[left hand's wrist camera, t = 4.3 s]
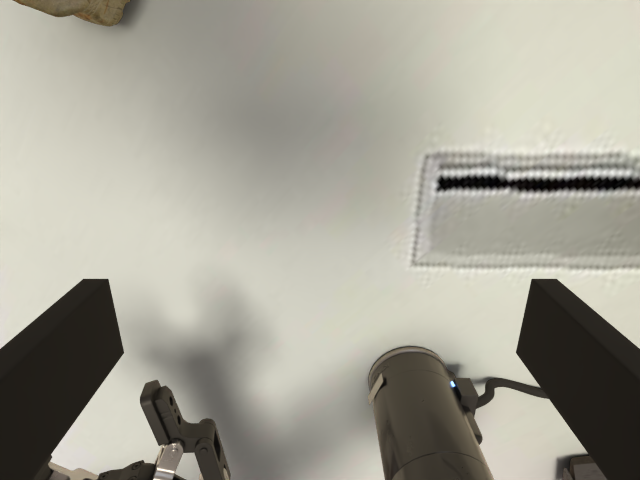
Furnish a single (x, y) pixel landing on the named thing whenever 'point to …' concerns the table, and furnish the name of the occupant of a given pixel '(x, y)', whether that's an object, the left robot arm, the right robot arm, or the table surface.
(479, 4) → the table surface
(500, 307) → the table surface
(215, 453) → the right robot arm
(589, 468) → the toy
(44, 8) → the sculpture
